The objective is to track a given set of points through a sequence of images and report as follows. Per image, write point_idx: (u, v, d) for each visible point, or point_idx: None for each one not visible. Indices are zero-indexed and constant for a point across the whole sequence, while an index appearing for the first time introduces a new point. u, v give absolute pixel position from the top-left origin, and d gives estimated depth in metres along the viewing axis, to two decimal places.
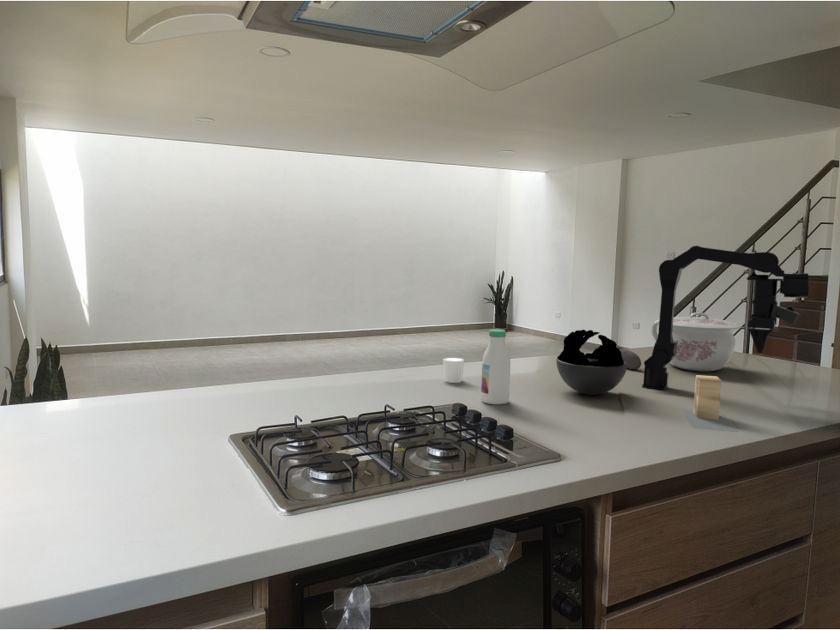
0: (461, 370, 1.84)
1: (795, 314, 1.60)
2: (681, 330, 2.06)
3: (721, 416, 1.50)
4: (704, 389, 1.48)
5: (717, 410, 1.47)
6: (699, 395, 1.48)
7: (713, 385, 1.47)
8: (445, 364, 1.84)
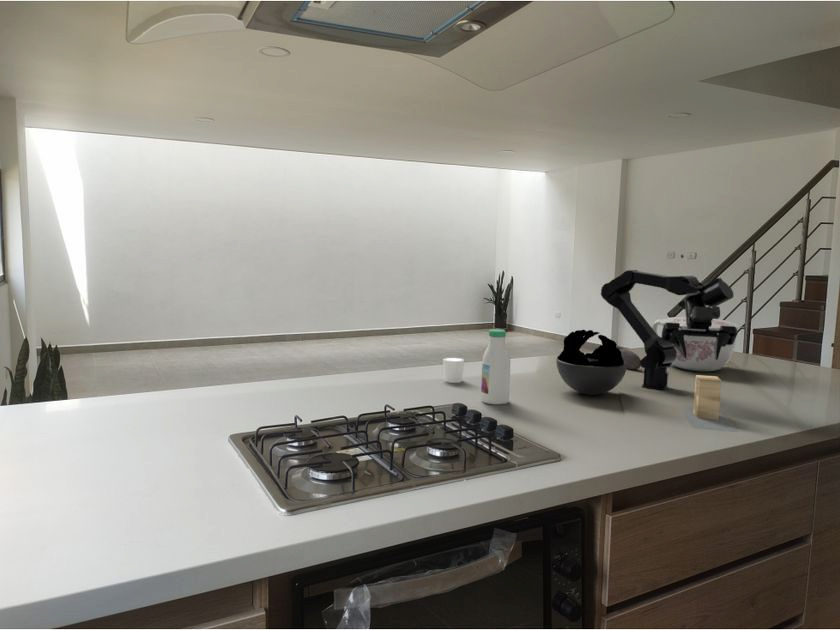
0: (461, 370, 1.84)
1: (694, 308, 1.61)
2: None
3: (721, 416, 1.50)
4: (704, 389, 1.48)
5: (717, 410, 1.47)
6: (699, 395, 1.48)
7: (713, 385, 1.47)
8: (445, 364, 1.84)
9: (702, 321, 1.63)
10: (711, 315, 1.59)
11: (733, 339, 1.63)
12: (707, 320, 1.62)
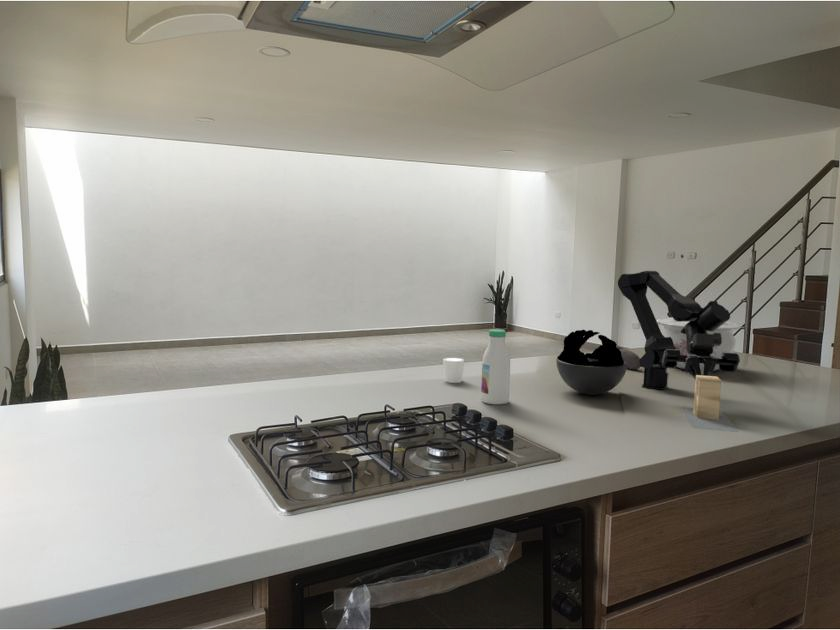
0: (461, 370, 1.84)
1: (694, 335, 1.57)
2: None
3: (721, 416, 1.50)
4: (704, 389, 1.48)
5: (717, 410, 1.47)
6: (699, 395, 1.48)
7: (713, 385, 1.47)
8: (445, 364, 1.84)
9: (703, 348, 1.59)
10: (712, 342, 1.55)
11: (735, 366, 1.58)
12: (708, 347, 1.58)
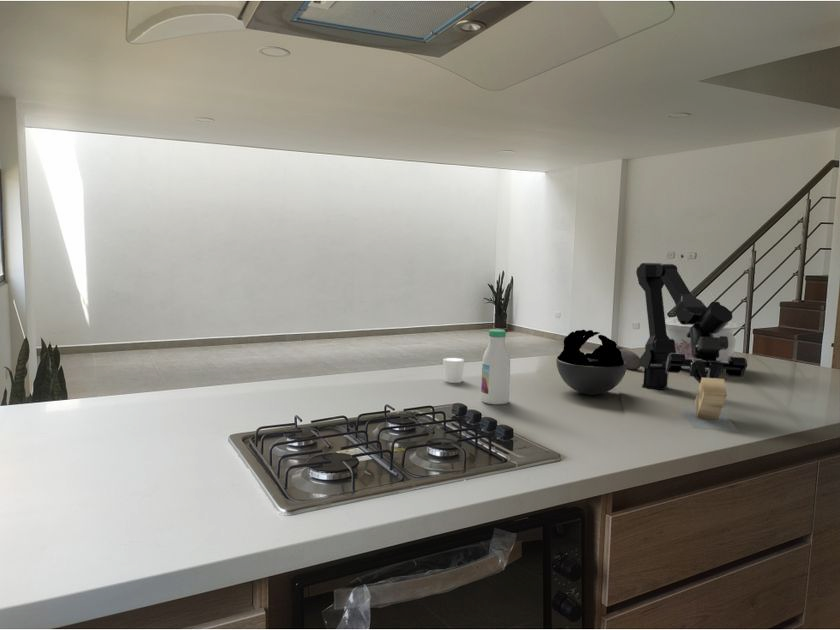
0: (461, 370, 1.84)
1: (700, 338, 1.51)
2: (681, 330, 2.06)
3: (721, 416, 1.50)
4: (707, 400, 1.43)
5: (718, 413, 1.46)
6: (702, 403, 1.45)
7: (717, 397, 1.42)
8: (445, 364, 1.84)
9: (709, 352, 1.52)
10: (719, 346, 1.48)
11: (743, 371, 1.52)
12: (714, 351, 1.51)
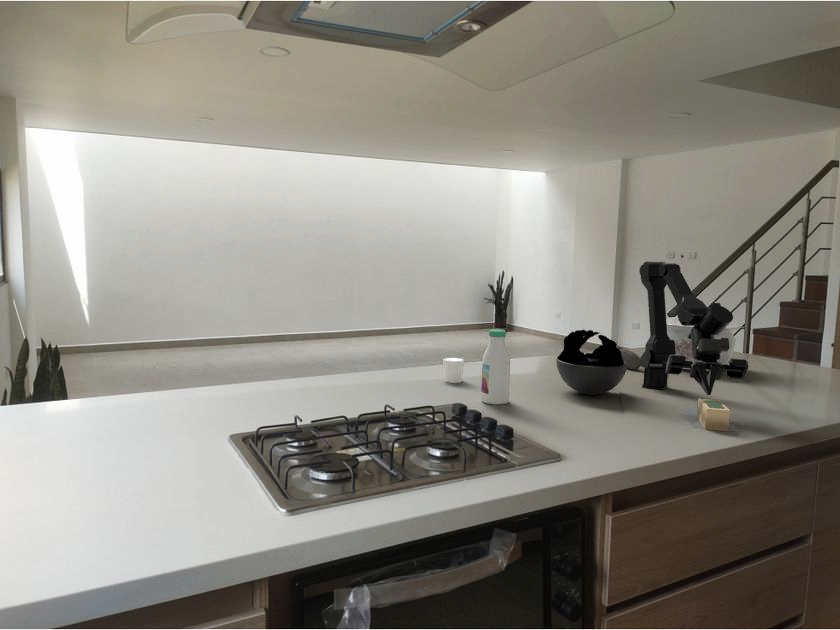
0: (461, 370, 1.84)
1: (701, 340, 1.49)
2: (681, 330, 2.06)
3: None
4: None
5: None
6: (702, 424, 1.43)
7: None
8: (445, 364, 1.84)
9: (710, 354, 1.51)
10: (720, 348, 1.47)
11: (744, 373, 1.50)
12: (715, 353, 1.50)
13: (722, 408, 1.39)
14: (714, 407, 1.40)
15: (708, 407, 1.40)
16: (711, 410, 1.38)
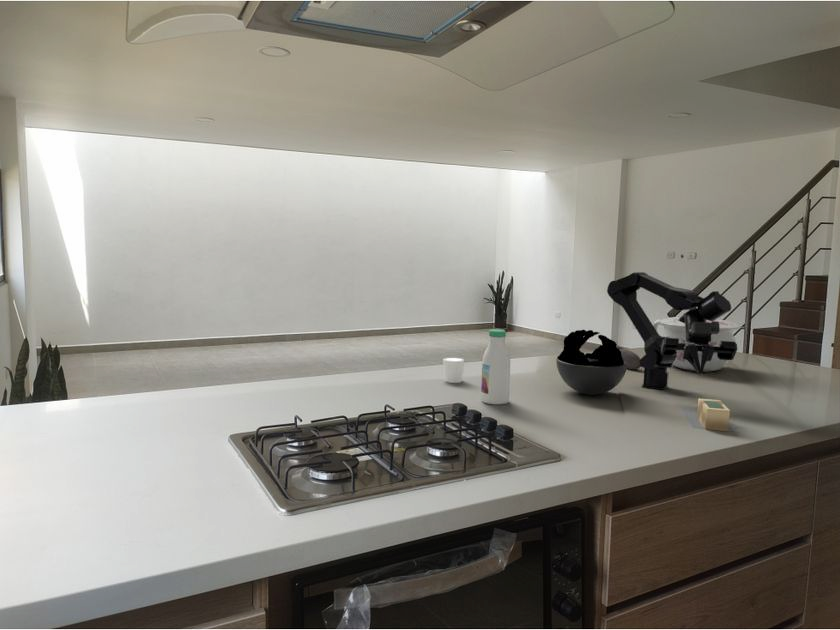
0: (461, 370, 1.84)
1: (693, 323, 1.60)
2: (681, 330, 2.06)
3: None
4: None
5: None
6: (702, 424, 1.43)
7: None
8: (445, 364, 1.84)
9: (701, 336, 1.62)
10: (710, 330, 1.58)
11: (733, 354, 1.61)
12: (706, 335, 1.60)
13: (722, 408, 1.39)
14: (714, 407, 1.40)
15: (708, 407, 1.40)
16: (711, 410, 1.38)
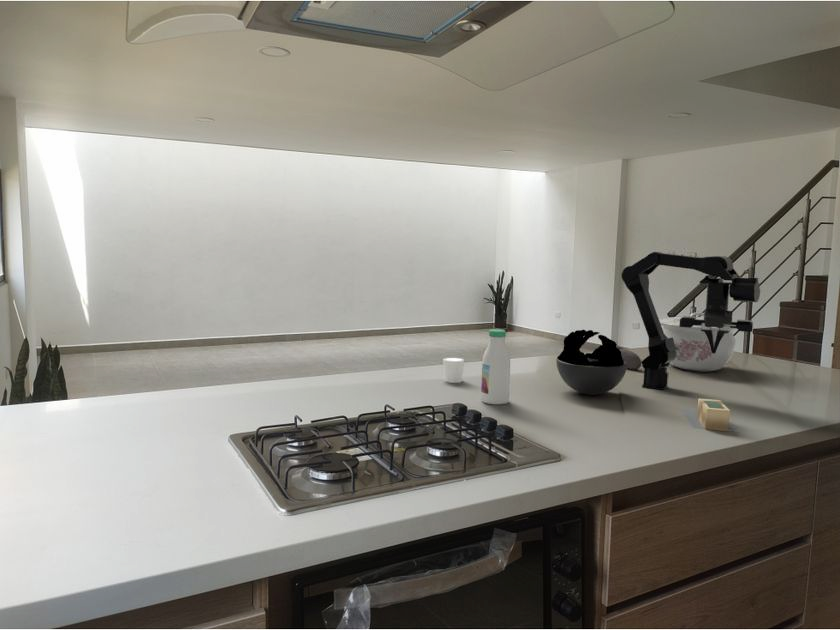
0: (461, 370, 1.84)
1: (705, 317, 1.64)
2: (681, 330, 2.06)
3: None
4: None
5: None
6: (702, 424, 1.43)
7: None
8: (445, 364, 1.84)
9: None
10: (721, 325, 1.62)
11: None
12: None
13: (722, 408, 1.39)
14: (714, 407, 1.40)
15: (708, 407, 1.40)
16: (711, 410, 1.38)
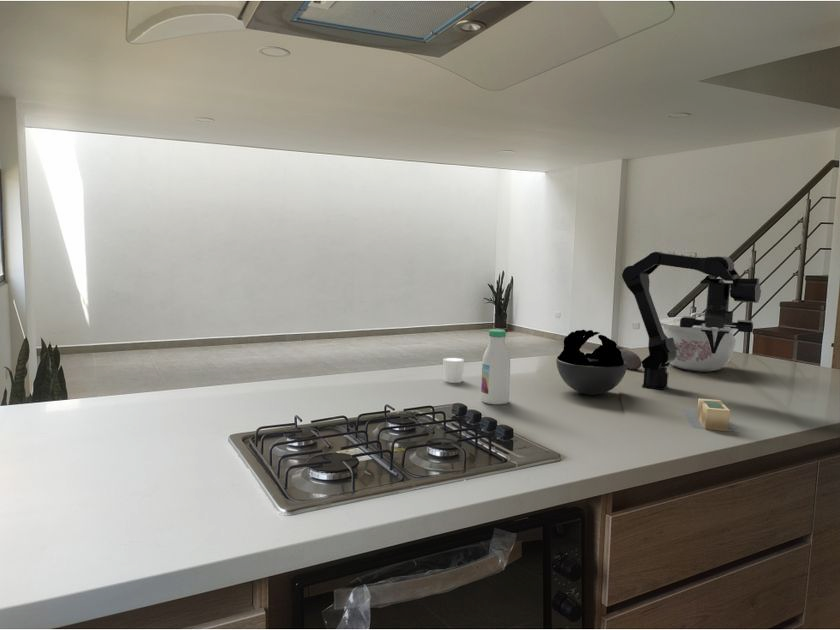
0: (461, 370, 1.84)
1: (705, 317, 1.64)
2: (681, 330, 2.06)
3: None
4: None
5: None
6: (702, 424, 1.43)
7: None
8: (445, 364, 1.84)
9: None
10: (721, 326, 1.62)
11: None
12: None
13: (722, 408, 1.39)
14: (714, 407, 1.40)
15: (708, 407, 1.40)
16: (711, 410, 1.38)
